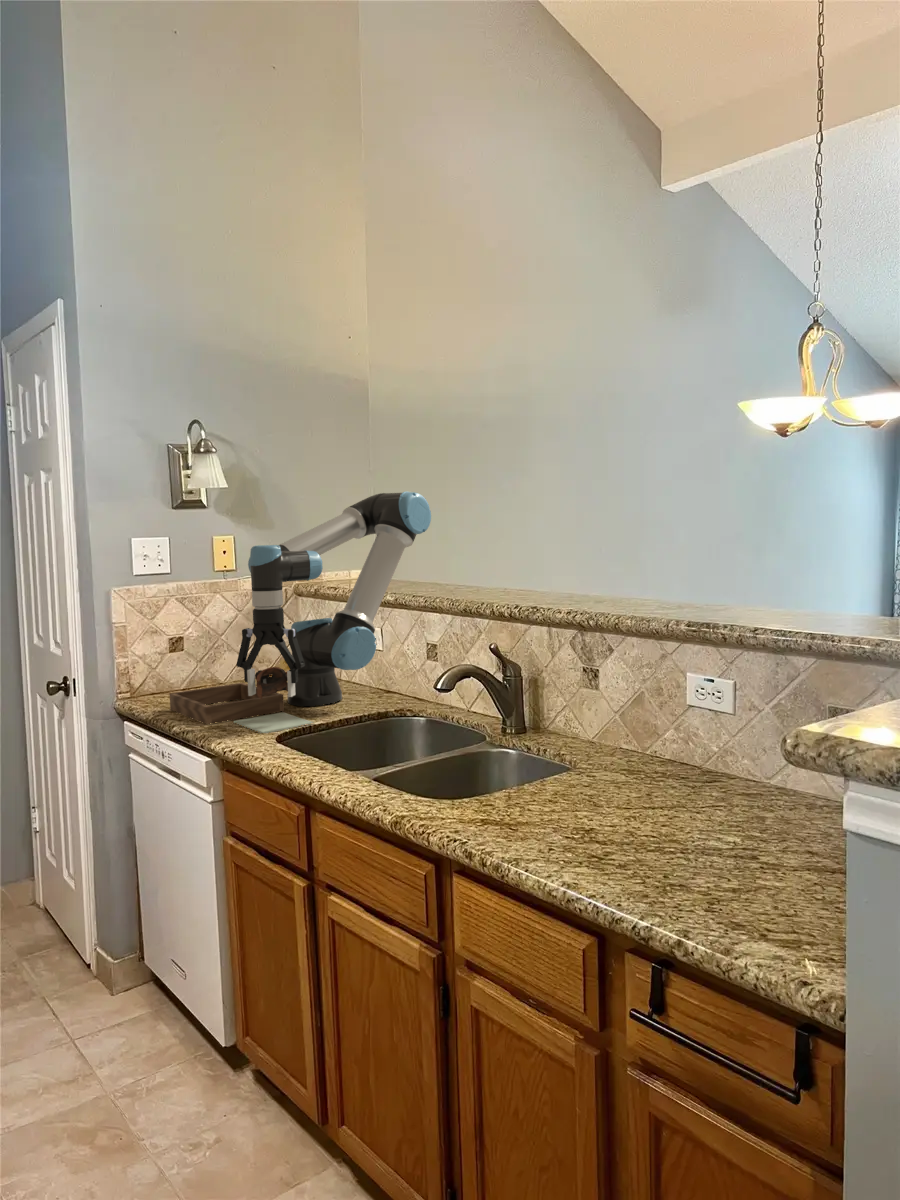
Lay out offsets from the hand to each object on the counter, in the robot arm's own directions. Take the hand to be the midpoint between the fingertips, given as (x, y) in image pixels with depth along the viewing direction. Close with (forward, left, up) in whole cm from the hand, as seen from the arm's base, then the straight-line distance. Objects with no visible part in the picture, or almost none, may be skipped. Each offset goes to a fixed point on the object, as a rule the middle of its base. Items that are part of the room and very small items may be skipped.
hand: (271, 695), depth 225 cm
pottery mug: (0, -1, -1) cm, 2 cm away
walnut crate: (+20, -12, -7) cm, 24 cm away
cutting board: (0, 0, -7) cm, 7 cm away
